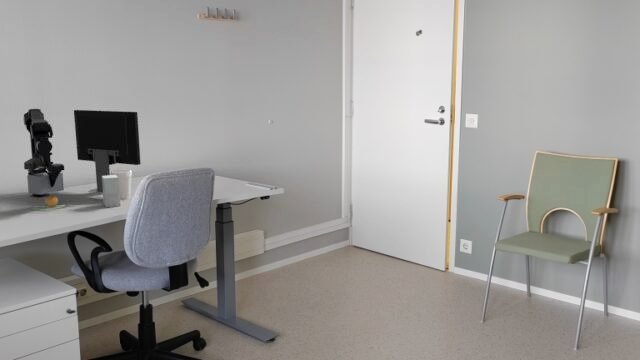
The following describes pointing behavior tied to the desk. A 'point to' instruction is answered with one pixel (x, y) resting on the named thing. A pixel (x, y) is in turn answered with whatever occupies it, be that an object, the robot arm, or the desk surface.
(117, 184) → the small box
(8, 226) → the desk surface
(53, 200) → the ball
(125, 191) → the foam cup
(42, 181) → the large grey box
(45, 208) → the tape square
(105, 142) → the computer monitor
